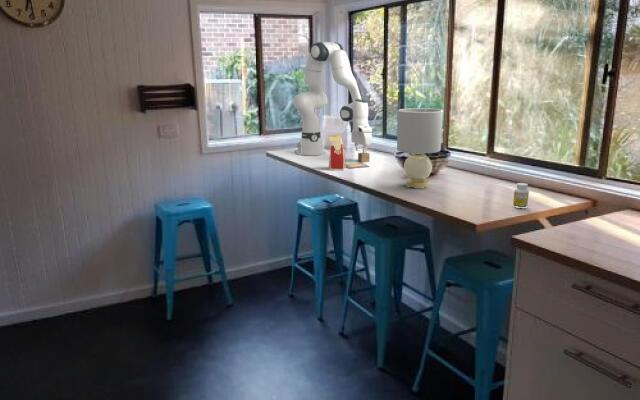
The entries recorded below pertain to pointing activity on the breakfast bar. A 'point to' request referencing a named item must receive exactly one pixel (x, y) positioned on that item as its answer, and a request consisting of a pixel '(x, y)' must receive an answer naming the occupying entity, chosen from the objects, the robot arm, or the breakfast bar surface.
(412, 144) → the lamp
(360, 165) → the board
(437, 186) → the breakfast bar surface
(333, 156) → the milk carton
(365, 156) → the brown wooden cube
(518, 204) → the supplement bottle
